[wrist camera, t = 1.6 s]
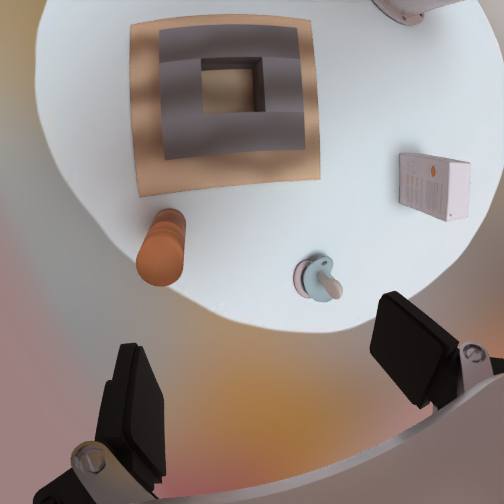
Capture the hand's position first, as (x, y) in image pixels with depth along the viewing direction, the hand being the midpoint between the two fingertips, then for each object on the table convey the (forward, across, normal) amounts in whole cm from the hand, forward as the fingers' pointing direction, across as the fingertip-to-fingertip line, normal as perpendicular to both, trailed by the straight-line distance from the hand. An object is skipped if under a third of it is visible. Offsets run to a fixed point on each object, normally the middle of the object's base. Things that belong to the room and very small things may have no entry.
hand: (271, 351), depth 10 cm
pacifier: (+26, -13, +12) cm, 31 cm away
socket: (+25, -3, -14) cm, 29 cm away
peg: (+26, +5, +1) cm, 26 cm away
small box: (+25, -31, -2) cm, 40 cm away
